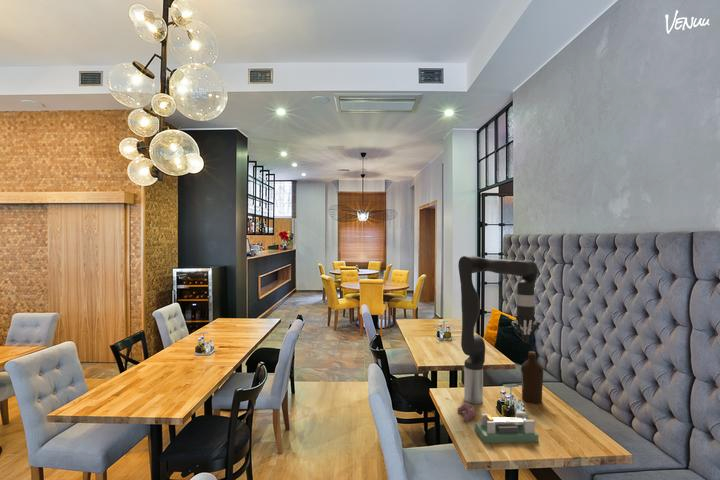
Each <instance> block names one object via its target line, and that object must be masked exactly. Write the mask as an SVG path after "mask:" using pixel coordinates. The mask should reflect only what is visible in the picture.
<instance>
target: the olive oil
mask: <svg viewBox="0 0 720 480" xmlns="http://www.w3.org/2000/svg"><path fill="white" fill-rule="evenodd" d="M520 376H521V377H520V378H521V398H522V400H523V401H525V402H527V403H530V404H540V403H542V402H543V384H544V383H543V382H544V369H543V367H542V365H541V364H540V363H539V362H538V361H537V357H536V351H533V350H530V351H528V359H527V360H525V361H524V362H523V363H522V364H521V366H520Z"/></svg>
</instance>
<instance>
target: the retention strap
mask: <svg viewBox="0 0 720 480" xmlns="http://www.w3.org/2000/svg"><path fill="white" fill-rule="evenodd" d="M486 420H487V421H494V422H495V425H523V420H527V418H526V419H525V418H524V417H523V416H521V417H514V416H513V417H512V416H511V417H507V416H503V417H499V416H498V417H497V416H495V417H493V416H491V415H490V414H489V415H486Z"/></svg>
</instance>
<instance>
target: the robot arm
mask: <svg viewBox="0 0 720 480" xmlns="http://www.w3.org/2000/svg"><path fill="white" fill-rule="evenodd" d="M457 265H458V267H457V268H458V273H459V281H460V292H461V293H460V294H461V296H460V297H461V305H460V306H461V339H460V340H461V341H460V346H461V350H462V352H463V354H465V355H466V356H468V357H467V358H466V359H465V360H464V366H463V367H464V369H463V370H464V384H463V385H464V390H463V391H464V392H463V393H464V398H463V401H464V402H465V403H470V404H471V405H473V404H474V405H479V404H482V403H483V401H484V399H483V398H484V364H485V360H486V359H485V358H486V344H485V343H486V342H485V341H484V340H485V339H483V337H481V336H480V335H475V327H476V324H477V321H478V319H479V316H480V313H481V312H480V311H481V302H480V301H481V300H480V297H479V294H478V292H477V290H476V289H475V286H474V284H473V274H476V273H481V272H482V273H483V272H490V273H495V274H499V275H512V276H516V277H517V276H518V277H522V278H521V280H520V281H518V283H517V285H516V286H517V291H516V292H517V293H516V294H517V295H516V318H515V320H513V321H511V323H510V324H511V325H512V326H513V327H514V328H515V330H516V331H517V333H519V334H521V341H522V342H523V343H524V344H529V342H530V335H532V334H534V333H535V332H536V331H537V329H538V328H539V326H540V325H541V322H539V321H537V320H536V316H535V315H536V300H535V283H536V281H537V276H538V272H539V271H538V269H539V268H538V265H537V264H536V262H535V261H533V260H529V259H528V260H513V259H503V258H502V259H501V258H500V259H494V258H493V259H490V258H483V257H480V256H476V255H463V256H461V257H460V258H459V259H458V264H457Z"/></svg>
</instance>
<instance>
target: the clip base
mask: <svg viewBox="0 0 720 480" xmlns="http://www.w3.org/2000/svg"><path fill="white" fill-rule="evenodd" d="M486 415H490V414H489V413H481V414H480V421H479V422H476V421H475V424H474V426H475V428H474V429H475V431H476V432H477V434H478V435H479V437H480V438H481V439H482V441H483V443H484V444H499V443H500V444H501V443H502V444H503V443H506V444H507V443H512V444H513V443H539V434H538V432H536V428H535V427H536V426H535V425H536V424H535V423H536V421H535V420H534V419H527V412H525V411H515V417H521V416H523V417H524V418H525V419H526V420H523V425H495V422H494V421H487V420H486Z"/></svg>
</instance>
